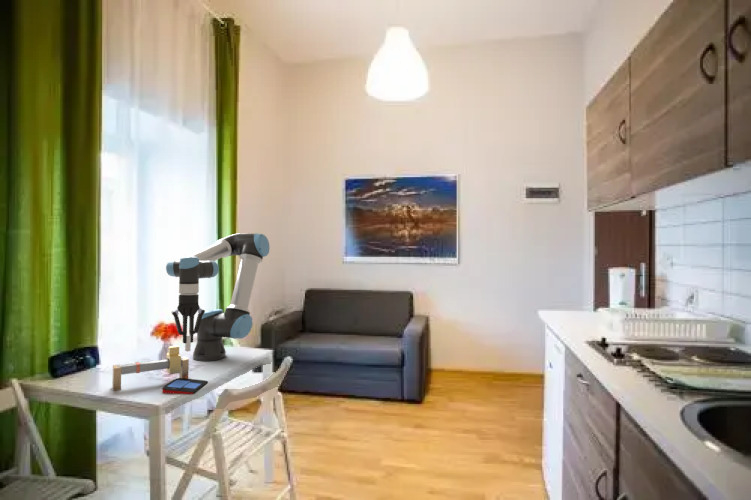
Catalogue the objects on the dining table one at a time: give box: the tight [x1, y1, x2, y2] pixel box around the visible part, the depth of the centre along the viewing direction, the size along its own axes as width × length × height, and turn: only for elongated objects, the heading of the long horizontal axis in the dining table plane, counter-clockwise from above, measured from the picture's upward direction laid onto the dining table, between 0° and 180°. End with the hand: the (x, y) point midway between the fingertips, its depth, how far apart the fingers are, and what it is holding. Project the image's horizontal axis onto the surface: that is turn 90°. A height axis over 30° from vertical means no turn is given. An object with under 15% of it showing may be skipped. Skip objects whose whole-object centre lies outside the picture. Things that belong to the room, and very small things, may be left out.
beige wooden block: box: [166, 345, 182, 375], centre depth 179 cm, size 4×7×10 cm, turn 35°
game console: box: [161, 377, 209, 395], centre depth 170 cm, size 14×13×2 cm
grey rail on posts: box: [111, 356, 190, 392], centre depth 174 cm, size 26×5×9 cm, turn 125°
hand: (187, 350), depth 182 cm, fingers closed
